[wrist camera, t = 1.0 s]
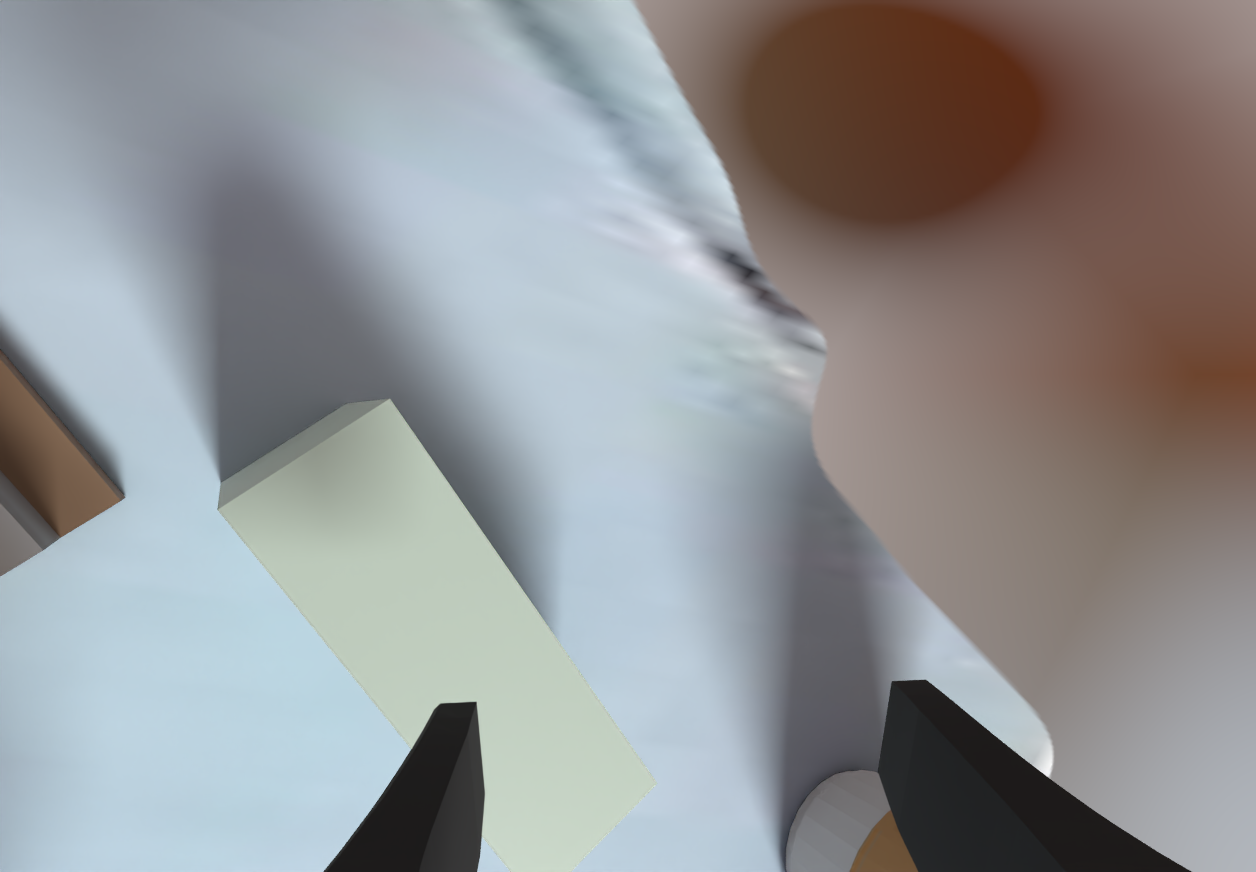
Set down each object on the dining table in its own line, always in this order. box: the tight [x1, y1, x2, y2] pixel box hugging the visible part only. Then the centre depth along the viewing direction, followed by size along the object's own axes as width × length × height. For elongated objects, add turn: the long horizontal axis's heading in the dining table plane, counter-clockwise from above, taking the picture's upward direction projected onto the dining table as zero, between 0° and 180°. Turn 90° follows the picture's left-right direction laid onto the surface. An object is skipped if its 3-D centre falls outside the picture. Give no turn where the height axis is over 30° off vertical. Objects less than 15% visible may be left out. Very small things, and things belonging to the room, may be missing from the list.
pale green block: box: [218, 399, 657, 872], centre depth 21 cm, size 4×12×7 cm, turn 33°
